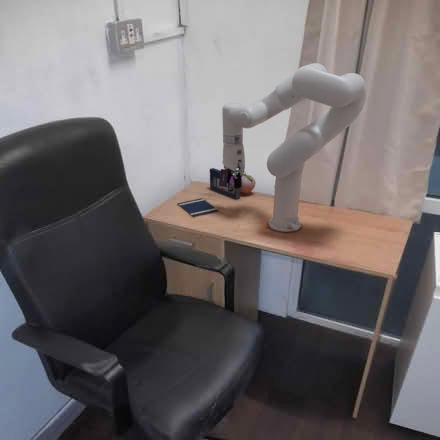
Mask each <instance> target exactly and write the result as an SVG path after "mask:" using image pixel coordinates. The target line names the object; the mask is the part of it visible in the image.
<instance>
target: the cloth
mask: <svg viewBox="0 0 440 440" xmlns="http://www.w3.org/2000/svg"><path fill="white" fill-rule="evenodd" d="M177 205H178V206H179V207H180V208H182V209H183V210H184V211H185V212H187V213H188V214H189V216H191V217H193V218H195V217H199V216H203V215H207V214H212V213H213V214H214V213H218V212H219V209H218V208H217V207H215V206H213V204H211V203H209V202H208V201H207V200H205V199H203V197H202V198H197V199H192V200H186V201H182V202H177Z"/></svg>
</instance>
